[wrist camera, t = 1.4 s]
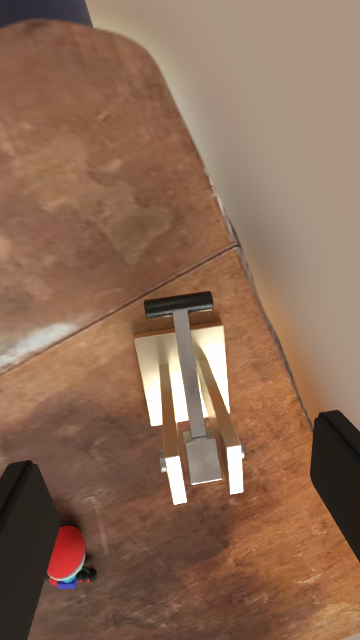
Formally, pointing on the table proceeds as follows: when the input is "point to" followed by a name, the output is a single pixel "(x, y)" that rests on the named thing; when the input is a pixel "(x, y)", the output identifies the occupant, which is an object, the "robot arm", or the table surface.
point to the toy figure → (69, 560)
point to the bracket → (170, 404)
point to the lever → (190, 383)
